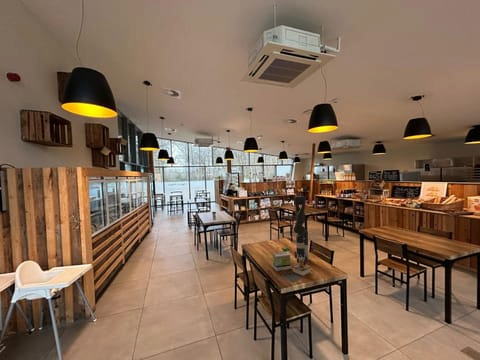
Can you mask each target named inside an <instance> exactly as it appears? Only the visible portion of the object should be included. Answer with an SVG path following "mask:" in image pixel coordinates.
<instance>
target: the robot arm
mask: <svg viewBox="0 0 480 360" xmlns="http://www.w3.org/2000/svg"><path fill="white" fill-rule="evenodd" d="M293 199H294V201H293V202H294V207H295V217H296V218H295V224H294V226H293V232H294V234H297V235H296V236H295V241H296V243H295V247H296V251H293V254H294V259H295V260H296V264H298V263H299V260H303V265H307V262H308V261H309V260H310V255H309V241H308V240H309V239H308V237H309V234H308V229H306V227H305V226H304V223H305V222H306V214H305V210H306V196H305V195H295V196H294V198H293ZM300 206H301V207H300Z"/></svg>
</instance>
